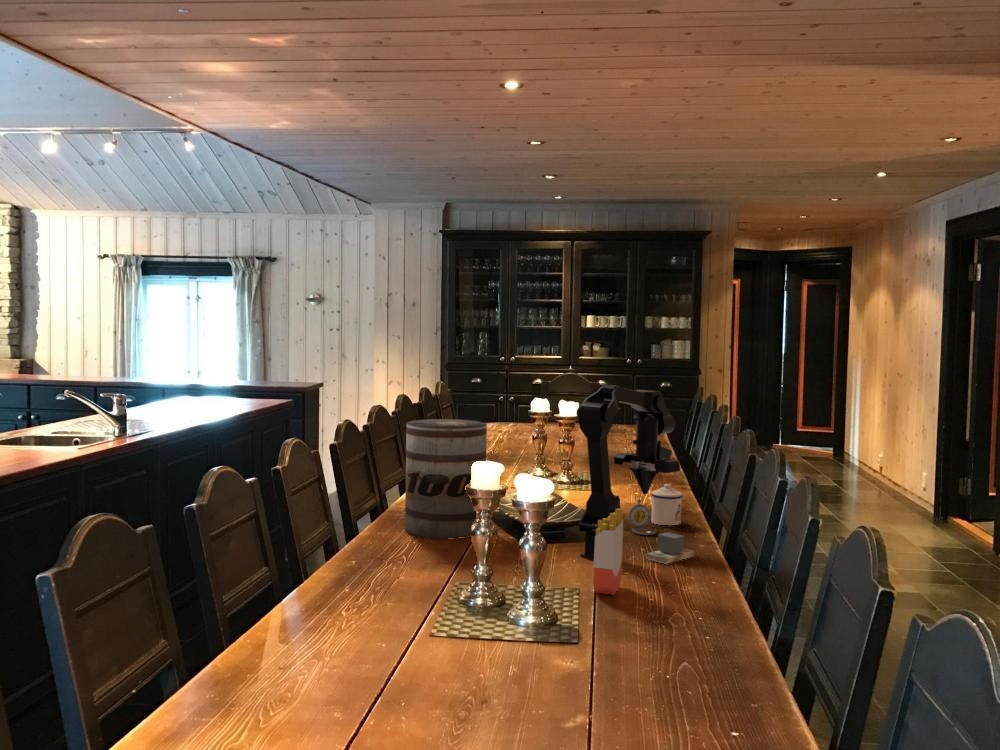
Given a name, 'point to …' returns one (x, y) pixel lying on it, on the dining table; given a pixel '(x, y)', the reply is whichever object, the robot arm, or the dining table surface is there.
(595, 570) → the french fries container
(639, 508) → the pocket watch
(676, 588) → the dining table surface
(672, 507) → the teacup with lid
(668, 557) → the cream flat rectangular block
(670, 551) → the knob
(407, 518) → the barrel
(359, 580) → the dining table surface
